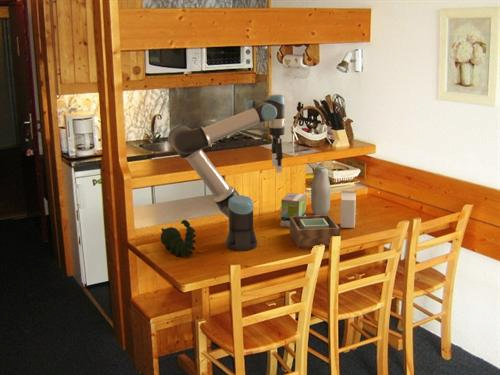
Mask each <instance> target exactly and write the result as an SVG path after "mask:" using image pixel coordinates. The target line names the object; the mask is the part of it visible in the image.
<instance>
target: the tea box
mask: <svg viewBox="0 0 500 375" xmlns="http://www.w3.org/2000/svg"><path fill="white" fill-rule="evenodd" d="M280 203H281V204H280V206H281V207H280V208H281V209H280V210H281V212H280V226H281V227H286V228H290V217H293V216H307V214H306V213H307V210H306V209H307V194H304V193H297V192H296V193H294V192H288V193H286V195H285V196H284V197H282V199H281V202H280Z"/></svg>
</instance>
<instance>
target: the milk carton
mask: <svg viewBox="0 0 500 375" xmlns="http://www.w3.org/2000/svg"><path fill="white" fill-rule="evenodd" d="M356 196H357V194H356V190H341V196H340V223H339V224H340V226H339V228H346V229H347V228H349V229H355V225H356V200H357V199H356Z"/></svg>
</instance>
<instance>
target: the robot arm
mask: <svg viewBox="0 0 500 375" xmlns="http://www.w3.org/2000/svg"><path fill="white" fill-rule="evenodd" d="M285 103H286V102H285V96H284V95H281V94H270V95H269V96H268V99H258V100H256V99H255V100H254V99H251V100H247V101H246V102H245V103H244V111H242V112H240V113H237V114H235V115H232V116H230V117H227V118H224V119H222V120H220V121H218V122H215V123H212V124H210V125H207V126H204V127H203V126H199V127H197V128H190V127H189V126H187V125H184V124H177V125H174V126H173V127H171V129H170V130H169V131H168V134H167V140H168V144H169V145H170V146H171V147H172V148H173V149H174V150H175V151H176V153H177V155H179V157H180V158H181V159H183V160H186V161H187V162H188V163H189V165H190V166H191V167H192V169H193V170H194V171H195V172H196V174H197V175H198V176H199V178H200V179H201V180H202V181H203V183H204V184H205V186H206V187H207V188H208V189H209V191H210V192H211V193H212V195H213V196H214V198H213V201H214V202H215V204H216V205H217V207H218V209H219V210H220V213H222V214H223V215H224V216H226V217H227V218H228V232H227V236H226V239H225V247H226V248H227V249H229V250H232V251H241V252H243V251H250V250H253V249H256V248H257V247H258V239H257V237H256V233H255V231H254V209H255V208H254V201H253V199H252V198H251V197H250V196H247V195H242V194H240V193H239V192H238V191H237V190H236V189H235V186H233V185H229V184H228V183H227V182H226V181H225V179H224V177H223V176H222V175H221V174H220V172H219V171H218V170H217V168H216V167H215V165H214V164H213V163H212V161H211V160H210V159H209V157H208V155H207V154H206V153H205V152H204V151H203V150H204V149H206V148H208V147H210V144H211V143H214V142H217V141H219V140H221V139H224V138H226V137H229V136H232V135H234V134H236V133H239V132H241V131H243V130H246V129H248V128H251V127H254V126H255V125H258V124H260V123H263V122H268V126H269V128H268V134H269V135H270V136H271V138H272V139H271V149H270V150H271V167H275V173H282V172H283V158H284V156H283V146H282V138H281V136H284V135H285V127H284V126H285V122H287V120H286V119H285V108H286V106H285Z"/></svg>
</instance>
